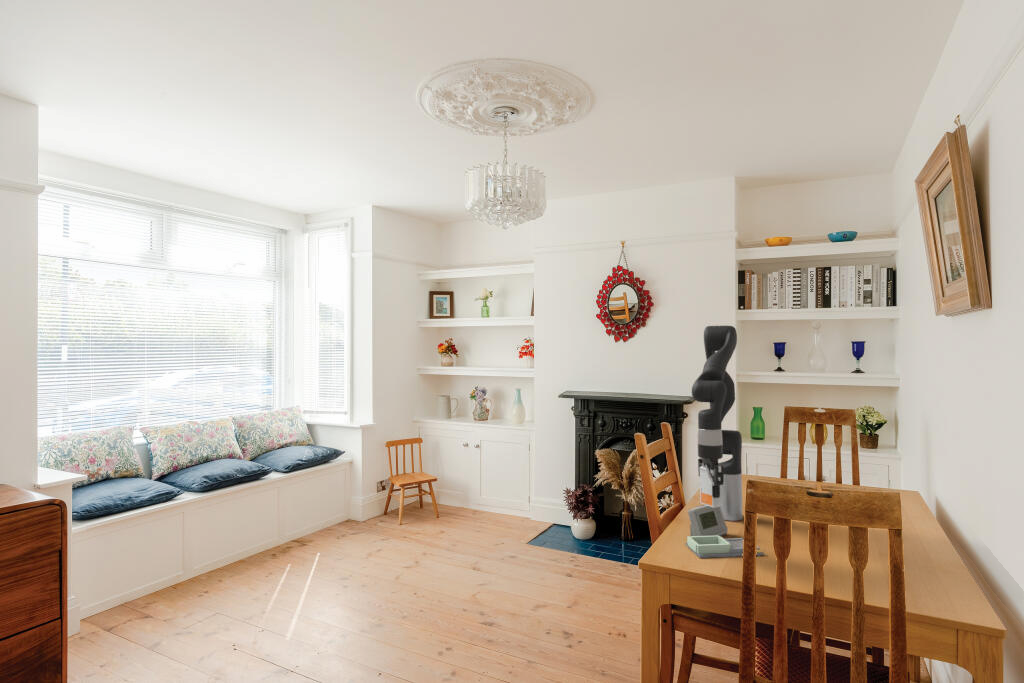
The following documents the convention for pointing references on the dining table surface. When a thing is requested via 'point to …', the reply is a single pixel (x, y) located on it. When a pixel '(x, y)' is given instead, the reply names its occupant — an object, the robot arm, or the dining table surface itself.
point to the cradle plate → (736, 544)
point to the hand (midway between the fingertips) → (710, 494)
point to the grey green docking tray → (715, 546)
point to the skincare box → (708, 490)
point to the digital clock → (707, 521)
